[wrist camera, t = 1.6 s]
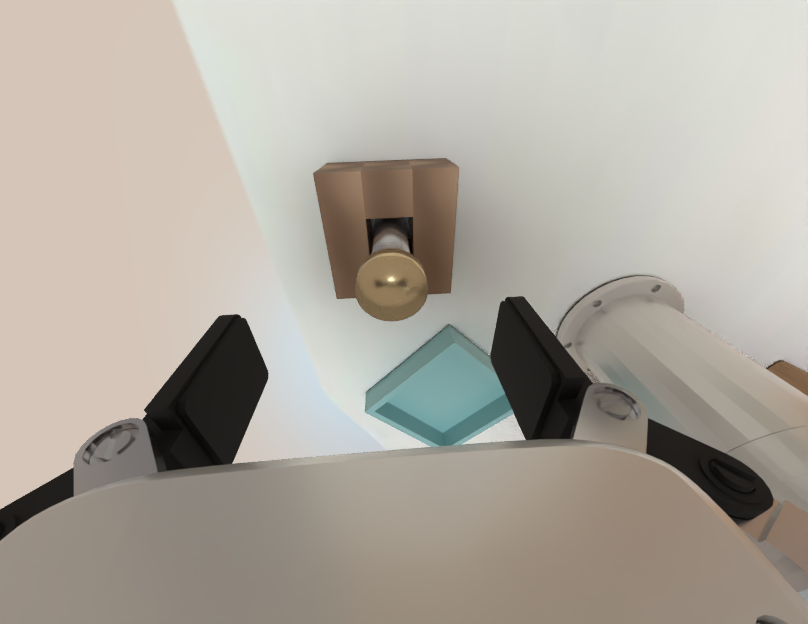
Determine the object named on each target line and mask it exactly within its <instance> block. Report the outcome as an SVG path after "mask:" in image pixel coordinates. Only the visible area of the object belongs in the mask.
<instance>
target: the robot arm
mask: <svg viewBox="0 0 808 624" xmlns="http://www.w3.org/2000/svg"><path fill="white" fill-rule="evenodd" d="M683 312H684V301H683V298H682V295H681V293H680V292H679V291H678V290H677V289H676V288H675V287H674V286H672V285H671V284H669V283H667V282H666V281H663V280H661V279H659V278H656V277H650V276H634V277H629V278H623V279H620V280H617V281H614V282H611V283H608V284H606V285H604V286H602V287H600V288H598V289H596V290H595V291H593V292H592V293H590V294H589V295H587V296H586V297H584V298H583V299H582V300H581V301H580V302H578V303H577V304H576V305H575V306H574V307H573V308H572V310H571V311H570V312H569V313H568V314H567V316H566V317H565V319H564V320H563V322H562V324H561V326H560V328H559V331H558V335H557V338H556V336H555V335H554V334H553V333H552V332H551V331H550V329H549V328H548V327H547V326H546V324H545V323H544V322H543V321H542V319H541V318H540V317H539V315H538V314H537V313H536V312H535V310H534V309H533V308H532V307H531V305H530V304H529V303H528V302H527V300H526V299H525V298H524V297H523V296H519V297H507V298H506V299H505V301H502V302H501V303H500V307H499V313H498V318H497V323H496V329H495V334H494V339H493V345H492V350H491V363H492V366H493V368H494V370H495V372H496V374H497V377H498V379H499V381H500V383H501V386H502V388H503V390H504V392H505V395H506V397H507V399H508V401H509V403H510V406H511V408H512V410H513V412H514V415H515V417H516V419H517V421H518V424H519V426H520V428H521V430H522V433H523V435H524V437H525V439H526V440H522V441H505V442H490V443H477V444H464V445H451V446H438V447H425V448H412V449H400V450H388V451H377V452H364V453H352V454H340V455H329V456H316V457H305V458H294V459H282V460H271V461H259V462H248V463H237V464H232V462H233V460H234V458H235V456H236V453H237V451H238V449H239V446H240V444H241V442H242V439H243V437H244V435H245V432H246V430H247V427H248V425H249V423H250V420H251V418H252V416H253V413H254V411H255V409H256V406H257V403H258V402H259V399H260V397H261V394H262V392H263V390H264V387H265V385H266V383H267V380H268V370H267V368H266V365H265V363H264V360H263V358H262V356H261V353H260V351H259V349H258V346H257V344H256V342H255V339H254V337H253V335H252V332H251V330H250V327H249V325H248V323H247V321H246V319H245V318H241V316H240V315H237V314H236V315H222V316H219V317H218V318H217V319H216V320H215V322H214V323H213V324H212V325H211V327H210V328H209V329H208V330H207V332H206V333H205V334H204V336H203V337H202V338H201V339H200V340H199V342H198V343H197V344H196V346H195V347H194V348H193V349H192V350H191V352H190V353H189V354H188V355H187V357H186V358H185V359H184V361H183V362H182V363H181V364H180V365H179V367H178V368H177V369H176V371H175V372H174V373H173V374H172V375H171V377H170V378H169V379H168V381H167V382H166V383H165V384H164V385H163V387H162V388H161V389H160V391H159V392H158V393H157V394H156V395H155V397H154V398H153V399H152V401H151V402H150V403H149V404H148V406H147V407H146V408H145V409H144V411H145V412H146V413H147V415H146V416H145V417H144V418H143V420H141V419H138V418H129V419H125V420H121V421H118V422H116V423H113V424H111V425H109V426H107V427H105V428H104V429H102V430H100V431H99V432H97V433H96V434H95V435H93V436H92V437H91V438H89V439H88V440H87V441H86V442H85V443H84V444H83V445H82V446H81V448H80V449H79V451H78V452H77V454H76V456H75V460H74V468H72V469H70V470H68V471H67V472H65V473H63V474H61V475H60V476H58V477H56V478H54V479H53V480H51V481H49V482H48V483H46V484H44V485H42V486H40V487H39V488H37V489H35V490H34V491H32V492H30V493H28V494H26V495H25V496H23V497H21V498H19V499H18V500H16V501H14V502H12V503H11V504H9V505H7V506H5V507H4V508H2V509H0V624H808V396H807V395H805V394H804V393H802V392H801V391H799V390H798V389H796V388H794V387H793V386H791V385H790V384H788V383H787V382H785V381H784V380H782V379H781V378H779V377H778V376H776V375H775V374H773V373H772V372H770V371H769V370H767V369H766V368H764V367H763V366H761V365H760V364H758V363H757V362H755V361H754V360H752V359H751V358H749V357H748V356H746V355H745V354H743V353H741V352H740V351H738V350H737V349H735V348H734V347H732V346H731V345H729V344H728V343H726V342H725V341H723V340H722V339H720V338H719V337H717V336H716V335H714V334H713V333H711V332H710V331H708V330H707V329H705V328H704V327H702V326H701V325H699V324H698V323H696V322H695V321H693V320H692V319H690V318H688V317H687V316H685V315H684V314H683ZM584 372H585V373H593V374H594V375H595V376H596V378H597V379H598V380H599V381H600V383H594V384H593V383H592V382H591V381H590V379H589V378H588V377H587V375H586V374H585V373H584Z"/></svg>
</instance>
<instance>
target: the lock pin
mask: <svg viewBox="0 0 808 624" xmlns="http://www.w3.org/2000/svg"><path fill="white" fill-rule="evenodd" d="M355 294H356V298H357V301H358V303H359V304H360V306H361V307H362V309H363V310H364V311H365V312H367V313H368V314H369V315H371V316H372V317H375V318H377V319H380V320H384V321H399V320H403V319H406V318H408V317H411V316H412V315H414V314H415V313H416V312H418V311H419V310H420V309H421V307H422V306H423V304H424V303H425V301H426V298H427V294H428V285H427V280H426V276H425V272H424V269H423V266H422V265H421V263H420V262H419V260H418V259H417V258H416V257H415V256H413V255H412V254H411V253H410V250H409V244H408V238H407V232H406V225H405V219H404V217H399V218H377V219H376V224H375V232H374V240H373V248H372V254H371V255H369V256H368V257H367V258H366V259H365V260H364V261H363V262H362V264H361V266H360V268H359V271H358V275H357V280H356V285H355Z"/></svg>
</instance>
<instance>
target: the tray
mask: <svg viewBox="0 0 808 624" xmlns="http://www.w3.org/2000/svg"><path fill="white" fill-rule="evenodd" d="M365 412H366V413H367V414H369V415H371V416H373V417H375V418H377V419H379V420H381V421H383V422H385V423H387V424H389V425H391V426H392V427H394V428H396V429H398V430H400V431H402V432H404V433H406V434H408V435H410V436H412V437H414V438H416V439H417V440H419V441H421V442H423V443H425V444H427V445H429V446H431V447H438V446H451V445H461V444H463V443H464V442H466V441H468V440H469V439H471V438H473V437H474V436H476V435H478V434H479V433H481V432H483V431H485V430H486V429H488V428H490V427H491V426H493V425H495V424H496V423H498V422H500V421H501V420H503V419H505V418H507V417H508V416H510V415H512V414H513V413H514V412H513V410H512V408H511V406H510V403H509V401H508V399H507V397H506V395H505V392H504V390H503V388H502V386H501V383H500V381H499V379H498V377H497V374H496V372H495V370H494V368H493V366H492V363H491V357H490V356H488V355H487V354H486V353H485V352H483V351H482V350H481V349H480V348H478V347H477V346H476V345H475V344H473V343H472V342H471V341H470V340H468V339H467V338H466V337H465V336H463V335H462V334H461V333H460V332H458V331H457V330H456V329H455V328H453V327H452V326H451V325H450V324H449V325H448V326H446V327H445V328H444V329H443V330H442V331H440V332H439V333H438V334H437V335H435V336H434V337H433V338H432V339H431V340H429V341H428V342H427V343H426V344H424V345H423V346H422V347H421V348H420V349H418V350H417V351H416V352H415V353H413V354H412V355H411V356H410V357H409V358H407V359H406V360H405V361H404V362H402V363H401V364H400V365H399V366H398V367H396V368H395V369H394V370H393V371H391V372H390V373H389V374H388V375H387V376H385V377H384V378H383V379H382V380H380V381H379V382H378V383H377V384H376V385H374V386H373V387H372V388H371V389H369V390H368V391H367V392H366V403H365Z"/></svg>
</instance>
